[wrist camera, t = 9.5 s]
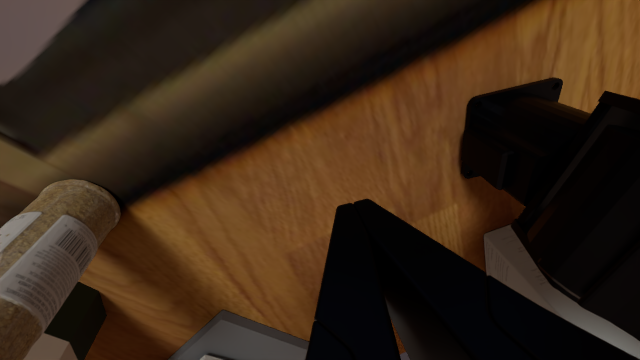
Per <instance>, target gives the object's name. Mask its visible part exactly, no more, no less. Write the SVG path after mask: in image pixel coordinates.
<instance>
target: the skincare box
mask: <svg viewBox="0 0 640 360" xmlns="http://www.w3.org/2000/svg"><path fill="white" fill-rule="evenodd" d="M484 247H485V261H486V273H487V276H488V275H491V276H492V277H494V278H496V279H497V280H499V281H500V282H502V283H503V284H505V285H507V286H508V287H510V288H512V289H513V290H515V291H517V292H518V293H520V294H522V295H523V296H525V297H527V298H528V299H530V300H532V301H533V302H535V303H537V304H538V305H540V306H542V307H544V308H545V309H547V310H549V311H551V312H553V313H554V314H556V315H558V316H560V317H562V318H563V319H565V320H567V321H569V322H571V323H573V324H574V325H576V326H578V327H580V328H582V329H584V330H585V331H587V332H589V333H591V334H593V335H595V336H597V337H599V338H601V339H602V340H604V341H606V342H608V343H610V344H612V345H614V346H616V347H618V348H619V349H621V350H623V351H625V352H627V353H629V354H631V355H633V356H635V357H636V358H638V359H640V341H638V340H637V339H636V338H634V337H633V336H631V335H630V334H628V333H627V332H625V331H623V330H622V329H620V328H618V327H617V326H615V325H614V324H612V323H610V322H609V321H607V320H605V319H603V318H601V317H599V316H597V315H595V314H593V313H591V312H589V311H587V310H585V309H584V308H582V307H581V306H579V305H578V303H576V302H574V301H573V300H571V299H570V298H568V297H567V296H565V295H564V294H562V293H561V292H560V291H559V290H557V289H555V288H553V287H552V286H551V285H550V284H549V282H548V281H547V279H546V278H545V277H544V276H543V274H542V273H541V272H540V270H539V269H538V267H537V266H536V264H535V263H534V261H533V260H532V258H531V257H530V255H529V254H528V252H527V251H526V249H525V248H524V246H523V245H522V243H521V242H520V240H519V238H518V237H517V235H516V234H515V232H514V231H513V229H512V228H511V224H510V225H508V226H505V227H502V228H499V229H496V230H493V231H491V232H488V233H485V234H484Z"/></svg>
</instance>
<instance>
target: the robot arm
mask: <svg viewBox="0 0 640 360" xmlns="http://www.w3.org/2000/svg"><path fill="white" fill-rule="evenodd" d="M553 85H554V86H553ZM562 85H563V81H562V80H561V79H559V78H549V79H545V80H540V81H536V82H532V83H528V84H524V85H520V86H515V87H511V88H507V89H503V90H499V91H495V92H490V93H486V94H482V95H478V96H475V97H473V98H471V99H470V101H469V103H468V108H467V118H466V128H465V131H464V138H463V148H462V158H461V160H462V167H461V174H462V175H463V176H464V177H465V178H467V179H469V178H473V177H477V176H481V177H483V178H484V179H485V180H486V181H488V182H489V183H490V184H491V185H492V186H494V187H495V188H496V189H498V190H501V189H504V190H505V191H506V192H507V193H509V194H510V195H511V196H512V197H514V198H515V199H516V200H518V201H519V202H520V203H521V204H523V205H524V206H526V207H525V209H524V210H523V212H522V213H521V215H520V216H519V217H518V219H515V220H514V222H513V223H512V224H511V228H512V229H513V231H514V232H515V234H516V235H517V237H518V238H519V240H520V242H521V243H522V245H523V246H524V248H525V249H526V251H527V252H528V254H529V255H530V257H531V258H532V260H533V261H534V263H535V264H536V266H537V267H538V269H539V270H540V272H541V273H542V274H543V276H544V277H545V278H546V279H547V281H548V282H549V284H550V285H551V286H552V287H553V288H555V289H557V290H559V291H560V292H561V293H562V294H564V295H565V296H567V297H568V298H570V299H571V300H573V301H574V302H576V303H578V305H579V306H581V307H582V308H584V309H585V310H587V311H589V312H591V313H593V314H595V315H597V316H599V317H601V318H603V319H605V320H607V321H609V322H610V323H612V324H614V325H615V326H617V327H618V328H620V329H622V330H623V331H625V332H627V333H628V334H630V335H631V336H633V337H634V338H636V339H637V340H638V341H640V99H636V98H632V97H628V96H624V95H620V94H616V93H612V92H608V91H604V93H603V94H602V96H601V97H600V99H599V100H598V101H599V104H598V105H597V106H596V108H595V109H594V111H593V112H592V114H590V113H587V112H585V111H582V110H579V109H576V108H573V107H570V106H567V105H564V104H561V103H558V100H559V96H560V92H561V89H562ZM552 86H553V87H552ZM477 102H478V105H477V106H475V104H476V103H477ZM468 171H469V172H468ZM467 172H468V173H467ZM390 318H391V319H390ZM314 319H315V321H314V322H313V326H312V331H311V336H310V341H309V345H308V349H307V353H306V357H305V360H401V358H400V354H399V350H398V346H397V342H396V339H395V335H394V331H393V327H392V323H391V320H392V322H393V324H394V326H395V328H396V331H397V333H398V335H399V337H400V339H401V341H402V343H403V345H404V348H405V350H406V352H407V354H408V356H409V358H410V360H640V359H638V358H636V357H635V356H633V355H631V354H629V353H627V352H625V351H623V350H621V349H619V348H618V347H616V346H614V345H612V344H610V343H608V342H606V341H604V340H602V339H601V338H599V337H597V336H595V335H593V334H591V333H589V332H587V331H585V330H584V329H582V328H580V327H578V326H576V325H574V324H573V323H571V322H569V321H567V320H565V319H563V318H562V317H560V316H558V315H556V314H554V313H553V312H551V311H549V310H547V309H545V308H544V307H542V306H540V305H538V304H537V303H535V302H533V301H532V300H530V299H528V298H527V297H525V296H523V295H522V294H520V293H518V292H517V291H515V290H513V289H512V288H510V287H508V286H507V285H505V284H503V283H502V282H500V281H499V280H497V279H496V278H494V277H492V276H491V275H488V276H487V274H486V272H484V271H483V270H481V269H479V268H478V267H476V266H475V265H473V264H471V263H470V262H468V261H467V260H465V259H464V258H462V257H460V256H459V255H457V254H456V253H454V252H452V251H451V250H449V249H448V248H446V247H445V246H443V245H441V244H440V243H438V242H437V241H435V240H433V239H432V238H430V237H429V236H427V235H425V234H424V233H422V232H421V231H419V230H418V229H416V228H414V227H413V226H411V225H410V224H408V223H406V222H405V221H403V220H402V219H400V218H399V217H397V216H395V215H394V214H392V213H391V212H389V211H387V210H386V209H384V208H383V207H381V206H379V205H378V204H376V203H375V202H373V201H372V200H370V199H363V200H359V201H356V202H354V204H352V203H348V204H344V205H340V206H338V207H337V209H336V214H335V219H334V224H333V228H332V233H331V238H330V243H329V248H328V253H327V258H326V263H325V268H324V273H323V278H322V283H321V288H320V292H319V297H318V302H317V307H316V312H315V317H314Z"/></svg>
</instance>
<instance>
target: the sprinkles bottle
mask: <svg viewBox="0 0 640 360" xmlns="http://www.w3.org/2000/svg"><path fill="white" fill-rule="evenodd" d="M120 215H121V213H120V208H119V205H118V203H117V201H116V200H115V199H114V197H113V196H112V195H111V194H110V193H109V192H108V191H106V190H105V189H103V188H102V187H100V186H97V185H95V184H93V183H90V182H87V181H84V180H75V179H71V180H64V181H58V182H55V183H53V184H50V185H49V186H48V187H46V188H45V189H44V190H43V191H42V192H41V193H40V195H39V197H38V198H37V199H36V200H34V201H33V202H32V203H31V204H30V205H29V206H28V207H26V208H25V209H24V210H23V211H22V212H21V213H20V214H19V215H17V216H16V217H14V218H12V219H11V220H10V221H8V222H7V223H6V224H5V225H4V226H3V227H2V228H0V360H23V359H24V358H25V357H26V355H27V354H28V352H29V351H30V349H31V347H32V346H33V345H34V344H35V342H36V341H37V340H38V339H39V338H40V337H41V336H42V334H43V333H44V331H45V330H46V328H47V327H48V325H49V324H50V322H51V321H52V319H53V318H54V316H55V315H56V313H57V312H58V310H59V309H60V307H61V306H62V304H63V303H64V302H65V300H66V299H67V297H68V296H69V294H70V293H71V291H72V289H73V288H74V286H75V285H76V283H77V282H78V280H79V279H80V277H81V276H82V274H83V273H84V271H85V270H86V268H87V267H88V265H89V264H90V262H91V261H92V259H93V258H94V256H95V254H96V252H97V249H98V247H99V246H100V245H101V243H102V242H103V240H104V239H105V238H106V236H107V234H108V233H109V231H110V230H112V229H113V228H114V227H115V226H116V225H117V223H118V222H119V219H120Z"/></svg>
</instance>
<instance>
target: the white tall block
mask: <svg viewBox="0 0 640 360" xmlns="http://www.w3.org/2000/svg"><path fill="white" fill-rule="evenodd" d="M200 360H223V359H219V358H215V357H212V356H208V355H204V356H203V357H202V358H201V359H200Z"/></svg>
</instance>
